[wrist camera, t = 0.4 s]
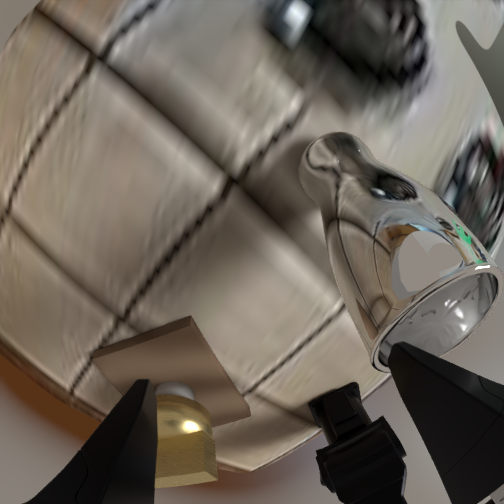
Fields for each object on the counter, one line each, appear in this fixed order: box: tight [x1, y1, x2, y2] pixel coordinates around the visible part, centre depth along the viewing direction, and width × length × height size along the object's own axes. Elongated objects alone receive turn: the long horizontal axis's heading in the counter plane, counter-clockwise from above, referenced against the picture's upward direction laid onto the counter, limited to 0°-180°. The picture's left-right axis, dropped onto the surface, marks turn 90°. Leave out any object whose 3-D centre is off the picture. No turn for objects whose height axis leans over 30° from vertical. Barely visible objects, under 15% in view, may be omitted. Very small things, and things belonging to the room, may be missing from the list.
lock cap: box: [155, 395, 218, 488], centre depth 19 cm, size 8×7×7 cm
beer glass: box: [298, 132, 504, 373], centre depth 15 cm, size 7×7×15 cm
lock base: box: [92, 316, 251, 427], centre depth 24 cm, size 14×11×4 cm
